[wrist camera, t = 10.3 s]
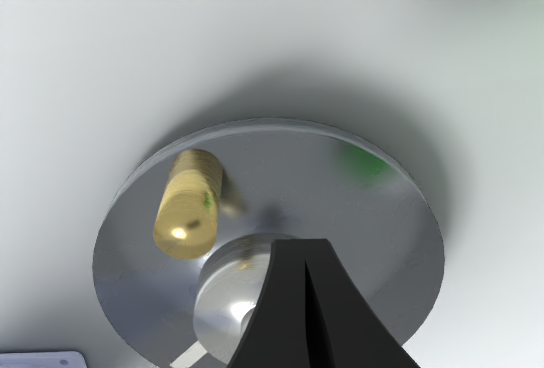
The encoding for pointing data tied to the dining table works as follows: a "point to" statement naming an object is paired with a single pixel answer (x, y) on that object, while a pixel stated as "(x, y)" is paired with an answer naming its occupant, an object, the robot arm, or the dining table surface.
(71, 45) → the dining table surface
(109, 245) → the turntable
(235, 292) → the cover
